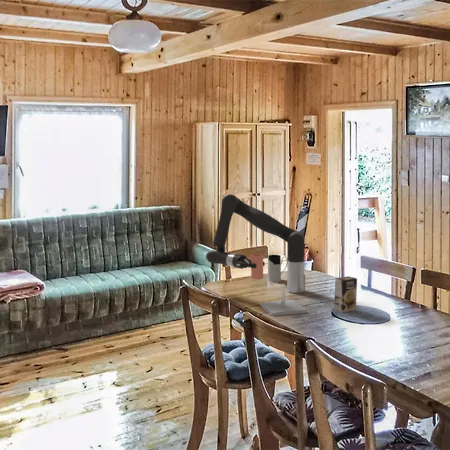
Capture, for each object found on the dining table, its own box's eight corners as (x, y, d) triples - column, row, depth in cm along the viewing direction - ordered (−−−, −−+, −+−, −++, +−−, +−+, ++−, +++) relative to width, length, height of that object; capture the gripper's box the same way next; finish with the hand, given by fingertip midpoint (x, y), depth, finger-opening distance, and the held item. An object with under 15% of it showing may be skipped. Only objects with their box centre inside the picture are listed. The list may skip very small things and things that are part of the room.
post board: (292, 302, 283) (293, 278, 281) (306, 312, 266) (307, 287, 264) (259, 305, 278) (259, 281, 277) (271, 315, 261) (272, 290, 259)
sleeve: (260, 276, 288) (260, 253, 286) (264, 278, 282) (264, 255, 281) (250, 276, 287) (249, 254, 285) (253, 279, 281) (253, 256, 279)
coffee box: (342, 313, 265) (342, 280, 263) (333, 309, 271) (334, 277, 268) (356, 310, 269) (357, 278, 267) (348, 307, 275) (348, 275, 273)
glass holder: (264, 279, 333) (264, 255, 331) (283, 276, 340) (283, 253, 338) (272, 282, 325) (272, 257, 323) (291, 279, 332) (292, 255, 330)
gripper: (227, 256, 288) (250, 260, 277) (245, 251, 298) (269, 255, 287) (227, 269, 289) (250, 274, 278) (245, 265, 299) (269, 269, 288)
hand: (259, 265), depth 282 cm, fingers closed on sleeve, 6 cm apart
